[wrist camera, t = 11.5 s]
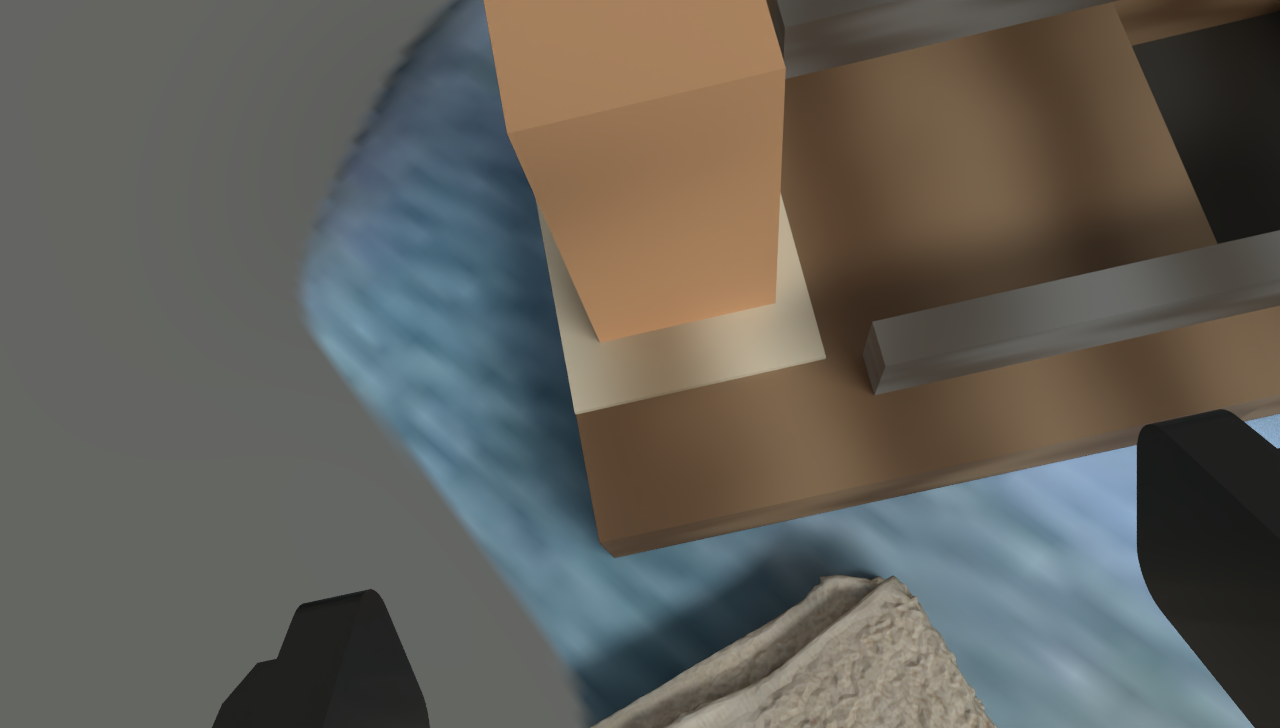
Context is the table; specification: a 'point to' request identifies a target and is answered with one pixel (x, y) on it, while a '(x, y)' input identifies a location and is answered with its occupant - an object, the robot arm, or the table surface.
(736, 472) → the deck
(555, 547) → the table surface
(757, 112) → the block
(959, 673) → the washcloth
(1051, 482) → the table surface
